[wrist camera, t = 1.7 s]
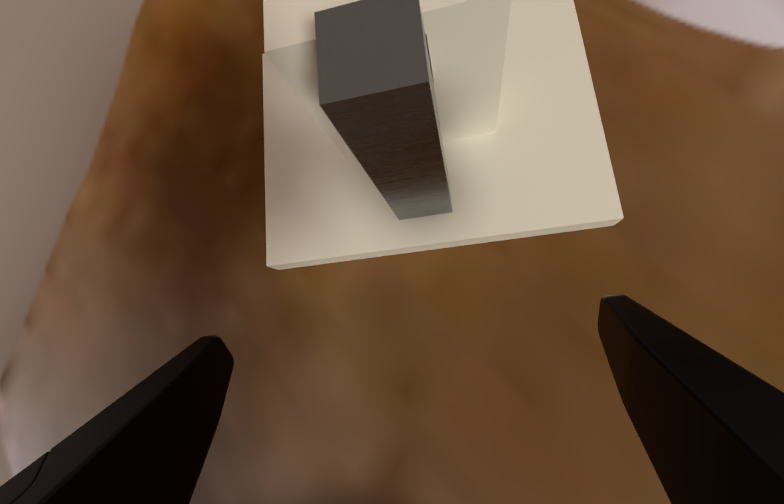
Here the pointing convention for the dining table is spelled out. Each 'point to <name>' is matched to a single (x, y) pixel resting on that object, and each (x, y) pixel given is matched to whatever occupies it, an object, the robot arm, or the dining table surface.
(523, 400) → the dining table surface
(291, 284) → the dining table surface
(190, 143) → the dining table surface
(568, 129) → the white mounting stand
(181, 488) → the robot arm
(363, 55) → the grey block
